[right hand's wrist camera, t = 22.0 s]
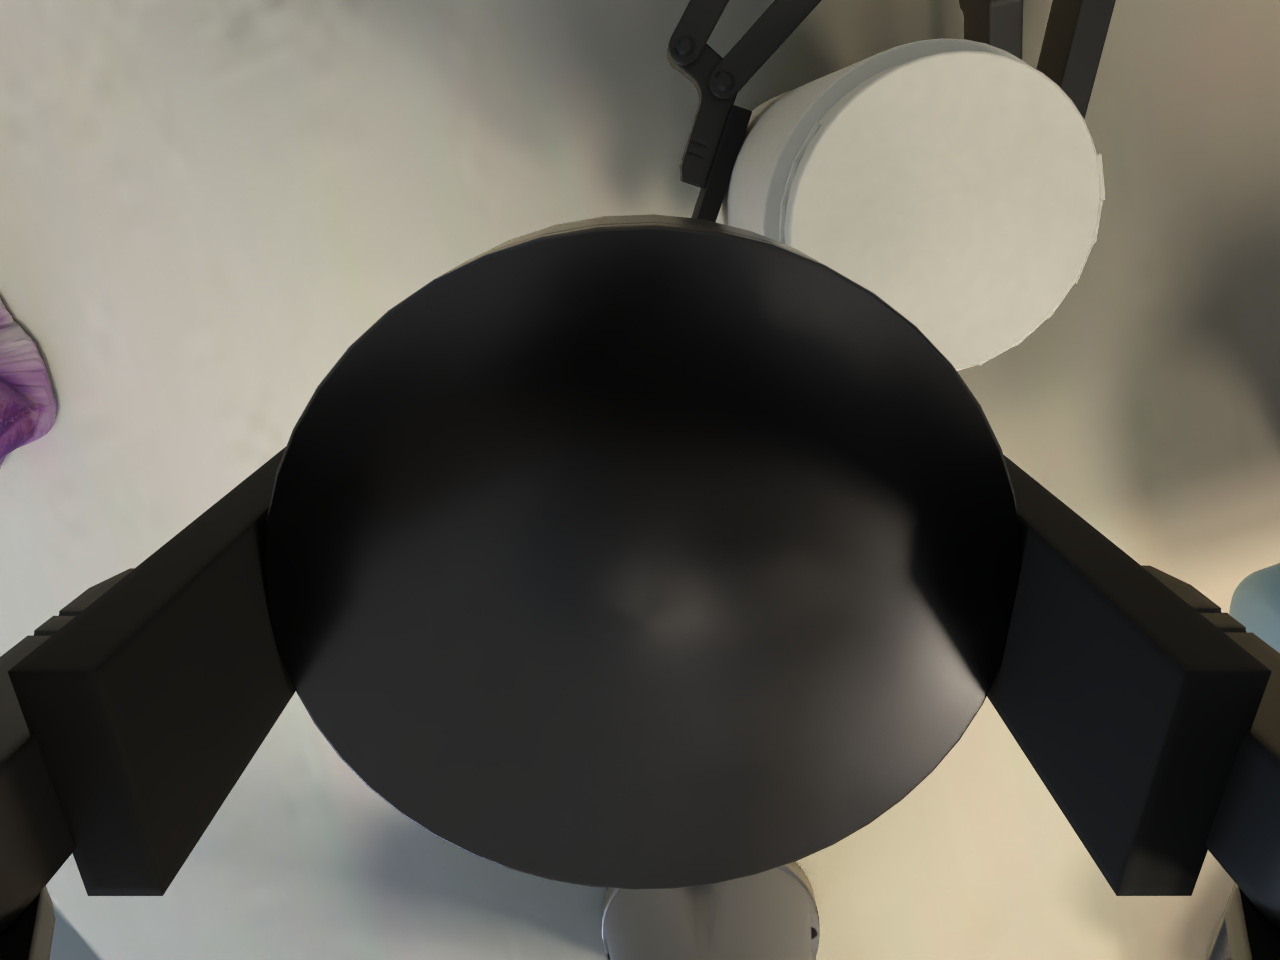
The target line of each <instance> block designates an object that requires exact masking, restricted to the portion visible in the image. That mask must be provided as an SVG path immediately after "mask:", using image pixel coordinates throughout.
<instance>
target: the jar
mask: <svg viewBox="0 0 1280 960" xmlns="http://www.w3.org/2000/svg"><path fill="white" fill-rule="evenodd" d="M1103 200H1105V188H1104V177H1103V165H1102V154H1097V153H1096V150H1095V146H1094V143H1093V139H1092V136H1091V134H1090V132H1089V130H1088V127H1087V125H1086V123H1085V121H1084V119H1083V117H1082V115H1081V114H1080V112H1079V111H1078V109H1077V108H1076V106H1075V105H1074V103H1073V101H1072V100H1071V99H1070V98H1069V97H1068V96H1067V95H1066V93H1065V92H1064V91H1063V90H1062V89H1061V88H1060V87H1059V86H1058V85H1057V84H1056V83H1055V82H1053V81H1052V80H1051V79H1050V78H1048V77H1047V76H1046V75H1045V74H1043V73H1042V72H1040V71H1039V70H1037V69H1035V68H1033V67H1032V66H1030V65H1028V64H1027V63H1026V62H1025V61H1023V60H1021V59H1019V58H1018V57H1016V56H1014V55H1012V54H1010V53H1009V52H1007V51H1005V50H1002V49H999V48H996V47H994V46H991V45H988V44H986V43H981V42H976V41H971V40H966V39H948V38H939V39H929V40H920V41H915V42H911V43H907V44H903V45H899V46H895V47H893V48H890V49H888V50H885V51H883V52H880V53H878V54H875V55H873V56H871V57H868V58H866V59H864V60H861V61H859V62H856V63H854V64H852V65H849V66H847V67H845V68H842V69H840V70H838V71H835V72H833V73H830V74H828V75H826V76H823V77H821V78H819V79H816V80H814V81H811V82H809V83H807V84H804V85H802V86H800V87H797V88H795V89H792V90H790V91H788V92H785V93H783V94H781V95H778V96H776V97H774V98H771V99H770V100H768V101H766V102H764V103H762V104H761V105H759V106H758V107H757V108H755V109H754V110H753V111H752V114H751V117H750V120H749V123H748V126H747V129H746V132H745V135H744V138H743V141H742V144H741V147H740V150H739V153H738V156H737V159H736V162H735V165H734V168H733V171H732V175H731V178H730V181H729V184H728V187H727V190H726V193H725V196H724V199H723V202H722V205H721V208H720V211H719V214H718V217H717V220H716V223H720V224H724V225H728V226H732V227H736V228H741V229H745V230H749V231H752V232H755V233H757V234H760V235H762V236H765V237H767V238H770V239H772V240H775V241H777V242H780V243H783V244H785V245H788V246H790V247H793V248H795V249H797V250H799V251H801V252H803V253H804V254H806V255H808V256H810V257H812V258H813V259H815V260H817V261H819V262H820V263H822V264H824V265H826V266H828V267H829V268H831V269H833V270H835V271H836V272H838V273H840V274H842V275H843V276H845V277H847V278H849V279H850V280H852V281H854V282H856V283H857V284H859V285H861V286H862V287H864V288H866V289H868V290H869V291H871V292H873V293H874V294H876V295H877V296H878V297H880V298H881V299H882V300H883V301H885V302H886V303H887V304H888V305H890V306H891V307H892V308H894V309H895V310H896V311H897V312H899V313H900V314H901V315H902V316H904V317H905V318H906V319H908V320H909V321H910V322H911V323H913V324H914V325H915V326H916V327H917V328H918V329H919V330H920V331H921V332H922V333H923V334H924V335H925V336H926V337H927V338H928V339H929V340H930V341H931V342H932V344H933V345H934V346H935V347H936V348H937V349H938V350H939V351H940V352H941V353H942V354H943V355H944V356H945V357H946V358H947V359H948V360H949V362H950V363H951V364H952V365H953V366H954V368H955V369H956V371H959V370H963V369H966V368H969V367H973V366H976V365H978V366H980V365H982V364H983V363H985V362H987V361H989V360H990V359H992V358H994V357H996V356H998V355H1000V354H1002V353H1003V352H1005V351H1007V350H1008V349H1010V348H1012V347H1013V346H1018V345H1019V344H1020V343H1021V342H1022V341H1023V340H1024V339H1025V338H1026V337H1028V336H1029V335H1030V334H1031V333H1032V332H1033V331H1035V330H1036V329H1037V328H1038V327H1039V326H1040V325H1041V324H1042V323H1043V322H1044V321H1045V320H1046V319H1047V318H1049V319H1050V318H1051V316H1052V315H1053V313H1054V312H1055V311H1056V309H1057V308H1058V306H1059V305H1060V304H1061V302H1062V301H1063V299H1064V298H1065V297H1066V295H1067V294H1068V292H1069V291H1070V290H1071V288H1072V287H1073V285H1074V284H1075V283H1076V284H1077V282H1078V280H1079V278H1080V275H1081V273H1082V271H1083V268H1084V266H1085V263H1086V261H1087V259H1088V256H1089V254H1090V252H1091V249H1092V247H1093V244H1094V243H1096V241H1097V235H1098V229H1099V223H1100V217H1101V211H1102V205H1103Z"/></svg>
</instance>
